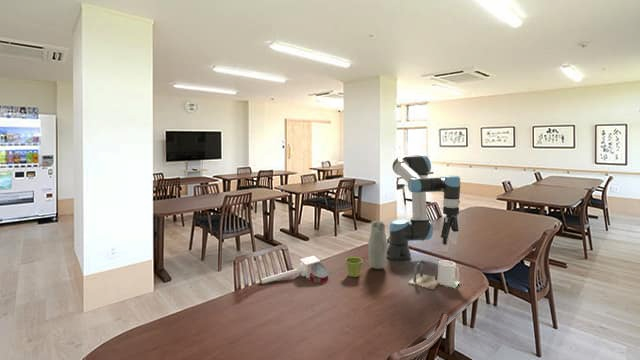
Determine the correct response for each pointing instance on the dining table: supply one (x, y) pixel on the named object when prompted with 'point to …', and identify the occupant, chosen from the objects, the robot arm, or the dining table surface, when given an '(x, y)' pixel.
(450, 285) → the pad
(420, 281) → the wire board
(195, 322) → the dining table surface
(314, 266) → the canned food
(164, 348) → the dining table surface
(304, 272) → the white handled tool
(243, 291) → the dining table surface
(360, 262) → the plant pot
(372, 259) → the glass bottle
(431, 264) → the bent wire
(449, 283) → the cup
